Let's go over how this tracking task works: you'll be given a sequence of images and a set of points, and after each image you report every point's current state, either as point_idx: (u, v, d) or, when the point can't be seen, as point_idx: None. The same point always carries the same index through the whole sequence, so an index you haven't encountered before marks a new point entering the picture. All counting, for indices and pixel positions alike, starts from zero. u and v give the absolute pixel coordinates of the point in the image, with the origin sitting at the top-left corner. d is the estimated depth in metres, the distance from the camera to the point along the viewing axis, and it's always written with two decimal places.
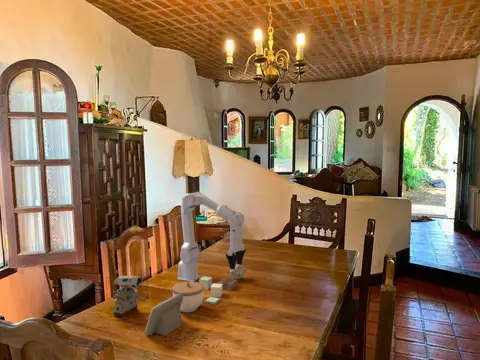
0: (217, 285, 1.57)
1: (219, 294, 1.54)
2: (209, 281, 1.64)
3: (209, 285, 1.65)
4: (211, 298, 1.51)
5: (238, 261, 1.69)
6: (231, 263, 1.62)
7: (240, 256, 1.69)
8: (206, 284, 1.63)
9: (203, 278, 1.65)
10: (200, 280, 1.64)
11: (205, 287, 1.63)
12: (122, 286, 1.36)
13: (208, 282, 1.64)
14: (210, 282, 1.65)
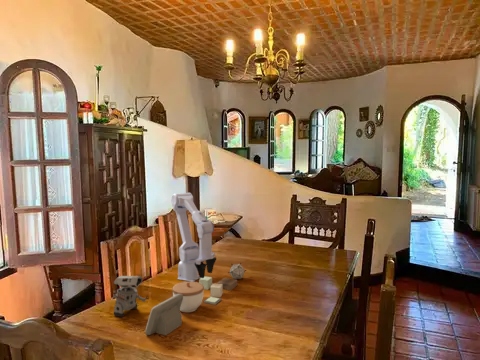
0: (217, 285, 1.57)
1: (219, 294, 1.54)
2: (209, 281, 1.64)
3: (209, 285, 1.65)
4: (211, 298, 1.51)
5: (208, 269, 1.69)
6: (200, 271, 1.62)
7: (210, 264, 1.69)
8: (206, 284, 1.63)
9: (203, 278, 1.65)
10: (200, 280, 1.64)
11: (205, 287, 1.63)
12: (122, 286, 1.36)
13: (208, 282, 1.64)
14: (210, 282, 1.65)
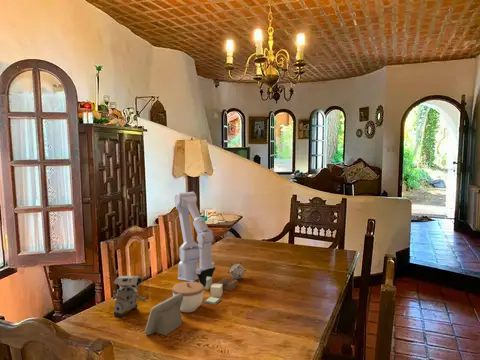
0: (217, 285, 1.57)
1: (219, 294, 1.54)
2: (209, 281, 1.64)
3: (209, 285, 1.65)
4: (211, 298, 1.51)
5: None
6: (201, 280, 1.63)
7: (209, 274, 1.68)
8: (206, 284, 1.63)
9: None
10: None
11: (205, 287, 1.63)
12: (122, 286, 1.36)
13: (208, 282, 1.64)
14: (210, 282, 1.65)
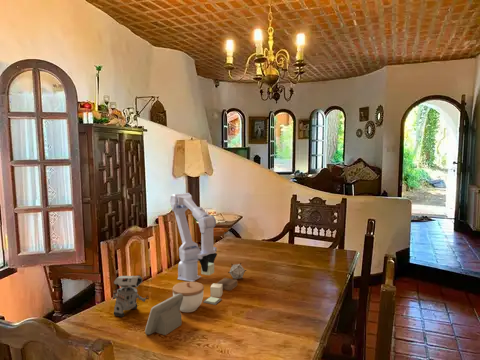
0: (217, 285, 1.57)
1: (219, 294, 1.54)
2: (211, 267, 1.64)
3: (211, 271, 1.64)
4: (211, 298, 1.51)
5: None
6: (203, 265, 1.63)
7: (211, 259, 1.67)
8: (208, 269, 1.63)
9: None
10: None
11: (207, 272, 1.63)
12: (122, 286, 1.36)
13: (210, 268, 1.64)
14: (212, 268, 1.65)
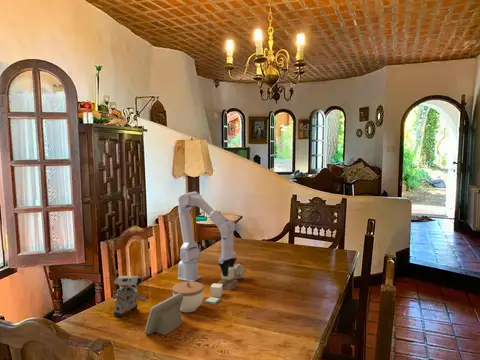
0: (217, 285, 1.57)
1: (219, 294, 1.54)
2: (231, 271, 1.65)
3: (231, 275, 1.65)
4: (211, 298, 1.51)
5: None
6: (223, 270, 1.64)
7: (230, 264, 1.68)
8: (229, 274, 1.64)
9: None
10: None
11: (227, 277, 1.64)
12: (122, 286, 1.36)
13: (231, 272, 1.65)
14: (232, 272, 1.66)
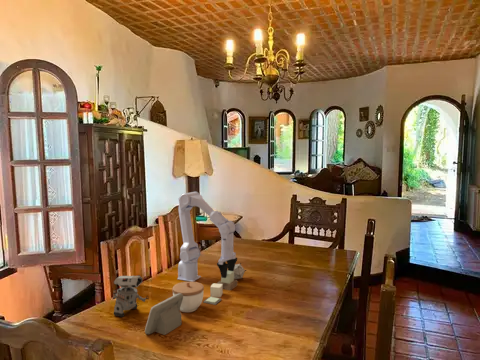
0: (217, 285, 1.57)
1: (219, 294, 1.54)
2: (231, 275, 1.65)
3: (231, 279, 1.65)
4: (211, 298, 1.51)
5: (230, 269, 1.70)
6: (222, 271, 1.63)
7: (232, 264, 1.69)
8: (228, 278, 1.64)
9: None
10: None
11: (227, 281, 1.64)
12: (122, 286, 1.36)
13: (230, 276, 1.65)
14: (232, 276, 1.66)
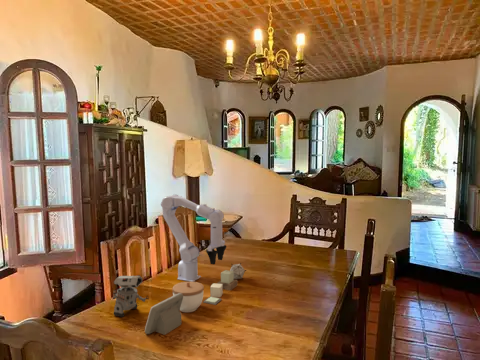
0: (217, 285, 1.57)
1: (219, 294, 1.54)
2: (230, 275, 1.65)
3: (230, 279, 1.65)
4: (211, 298, 1.51)
5: (219, 256, 1.76)
6: (211, 258, 1.69)
7: (221, 251, 1.76)
8: (228, 278, 1.64)
9: (224, 272, 1.66)
10: (222, 274, 1.65)
11: (227, 281, 1.64)
12: (122, 286, 1.36)
13: (230, 276, 1.65)
14: (231, 276, 1.66)
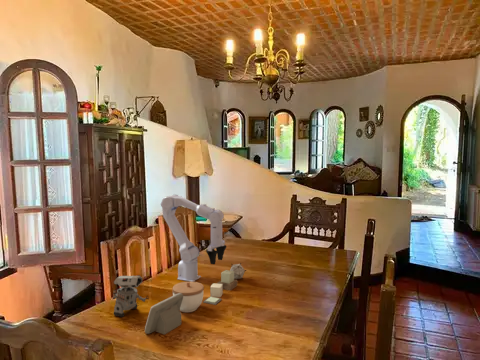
0: (217, 285, 1.57)
1: (219, 294, 1.54)
2: (231, 275, 1.65)
3: (231, 279, 1.65)
4: (211, 298, 1.51)
5: (219, 256, 1.76)
6: (211, 258, 1.69)
7: (221, 251, 1.76)
8: (228, 277, 1.64)
9: (225, 272, 1.66)
10: (222, 274, 1.65)
11: (227, 281, 1.64)
12: (122, 286, 1.36)
13: (230, 276, 1.65)
14: (232, 276, 1.66)
